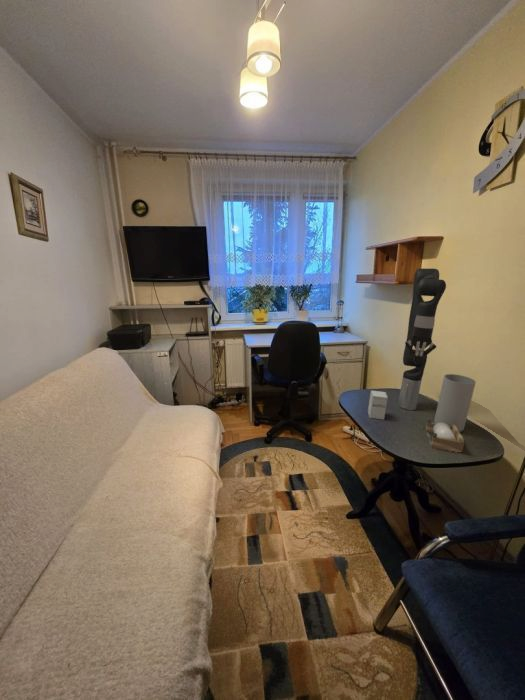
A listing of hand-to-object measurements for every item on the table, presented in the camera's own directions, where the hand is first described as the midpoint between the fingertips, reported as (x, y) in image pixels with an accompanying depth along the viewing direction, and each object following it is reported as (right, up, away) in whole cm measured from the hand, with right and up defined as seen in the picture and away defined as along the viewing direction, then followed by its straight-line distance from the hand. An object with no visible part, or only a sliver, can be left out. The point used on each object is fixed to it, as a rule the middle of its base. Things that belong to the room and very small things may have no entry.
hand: (416, 363), depth 130 cm
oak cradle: (+11, -35, -2) cm, 37 cm away
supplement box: (-11, -29, +20) cm, 36 cm away
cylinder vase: (+22, -32, +12) cm, 41 cm away
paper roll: (+11, -32, -3) cm, 34 cm away
